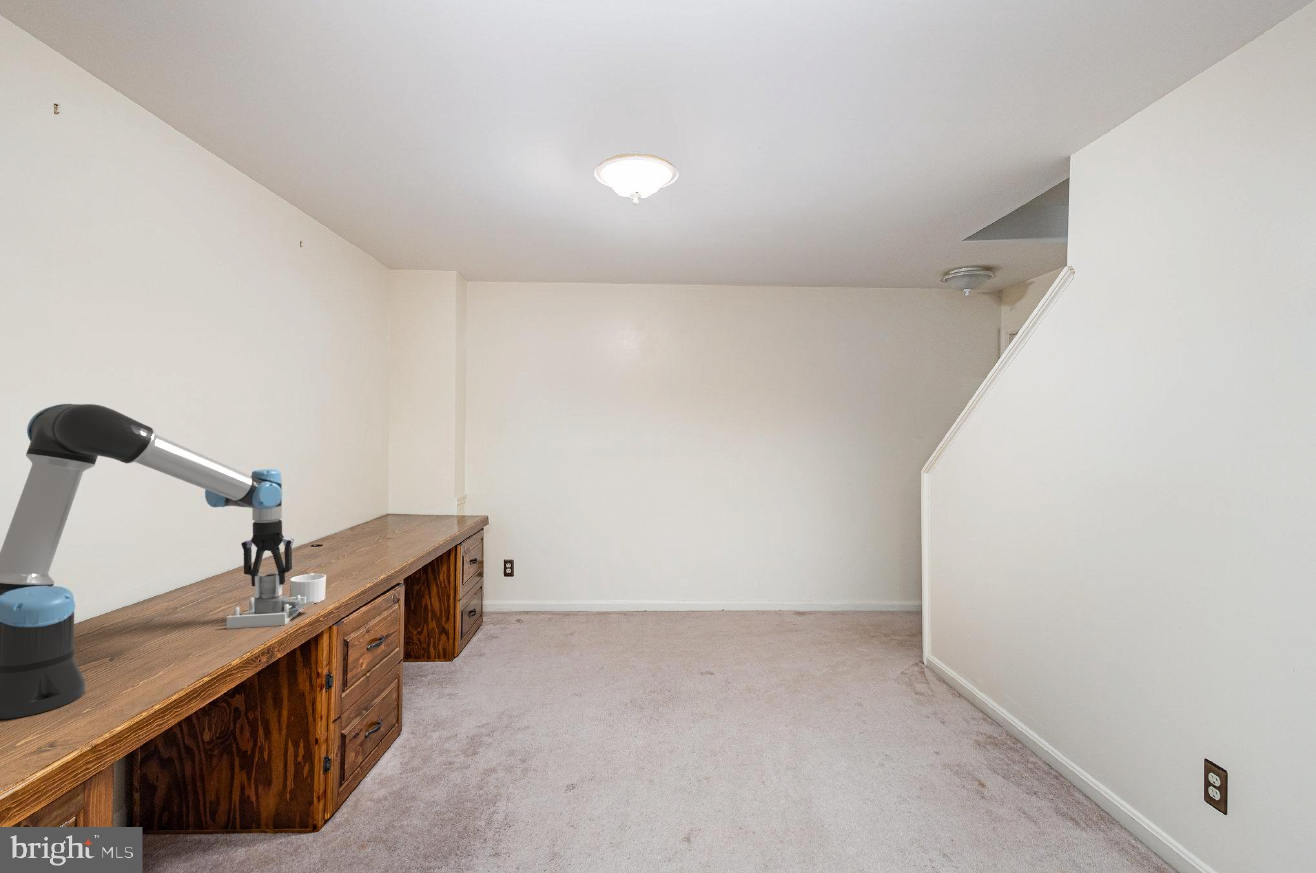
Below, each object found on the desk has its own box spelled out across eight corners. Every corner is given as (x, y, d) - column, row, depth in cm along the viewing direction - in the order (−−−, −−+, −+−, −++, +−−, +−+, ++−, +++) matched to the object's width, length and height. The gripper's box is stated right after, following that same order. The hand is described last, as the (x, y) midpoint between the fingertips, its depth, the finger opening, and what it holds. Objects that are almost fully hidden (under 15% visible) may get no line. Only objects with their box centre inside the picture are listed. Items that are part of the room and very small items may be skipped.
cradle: (285, 625, 173) (285, 608, 173) (226, 628, 170) (226, 611, 170) (305, 607, 191) (305, 591, 191) (253, 609, 187) (253, 594, 187)
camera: (267, 571, 186) (315, 572, 186) (267, 608, 186) (314, 609, 186) (248, 578, 177) (298, 579, 177) (248, 617, 177) (297, 618, 177)
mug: (323, 604, 194) (323, 580, 194) (286, 607, 190) (286, 582, 190) (329, 593, 206) (329, 570, 206) (294, 596, 203) (295, 573, 202)
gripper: (304, 517, 186) (305, 590, 186) (239, 519, 181) (240, 594, 182) (295, 521, 178) (297, 597, 179) (228, 523, 174) (229, 601, 175)
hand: (268, 595), depth 181 cm, fingers closed on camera, 5 cm apart
